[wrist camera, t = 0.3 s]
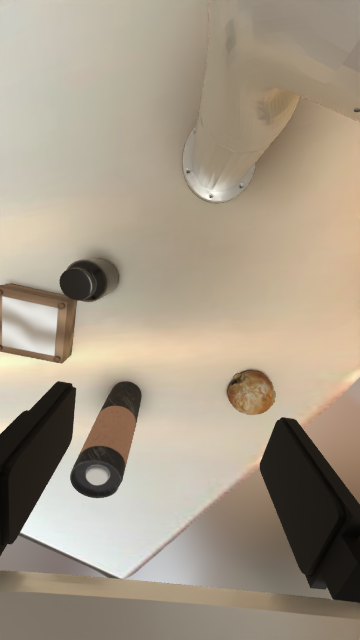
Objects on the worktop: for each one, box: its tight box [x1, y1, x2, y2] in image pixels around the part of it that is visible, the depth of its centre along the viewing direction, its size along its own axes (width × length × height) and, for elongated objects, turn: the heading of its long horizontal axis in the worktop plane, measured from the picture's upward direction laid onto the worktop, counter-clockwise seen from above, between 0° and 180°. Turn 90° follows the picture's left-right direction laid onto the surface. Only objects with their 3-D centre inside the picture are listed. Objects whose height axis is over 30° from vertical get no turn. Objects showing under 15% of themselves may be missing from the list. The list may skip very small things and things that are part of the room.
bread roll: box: [227, 371, 276, 415], centre depth 48 cm, size 10×10×8 cm
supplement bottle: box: [60, 259, 119, 302], centre depth 36 cm, size 7×7×12 cm
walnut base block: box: [0, 284, 77, 363], centre depth 42 cm, size 13×13×4 cm
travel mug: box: [70, 382, 141, 498], centre depth 40 cm, size 8×8×20 cm
